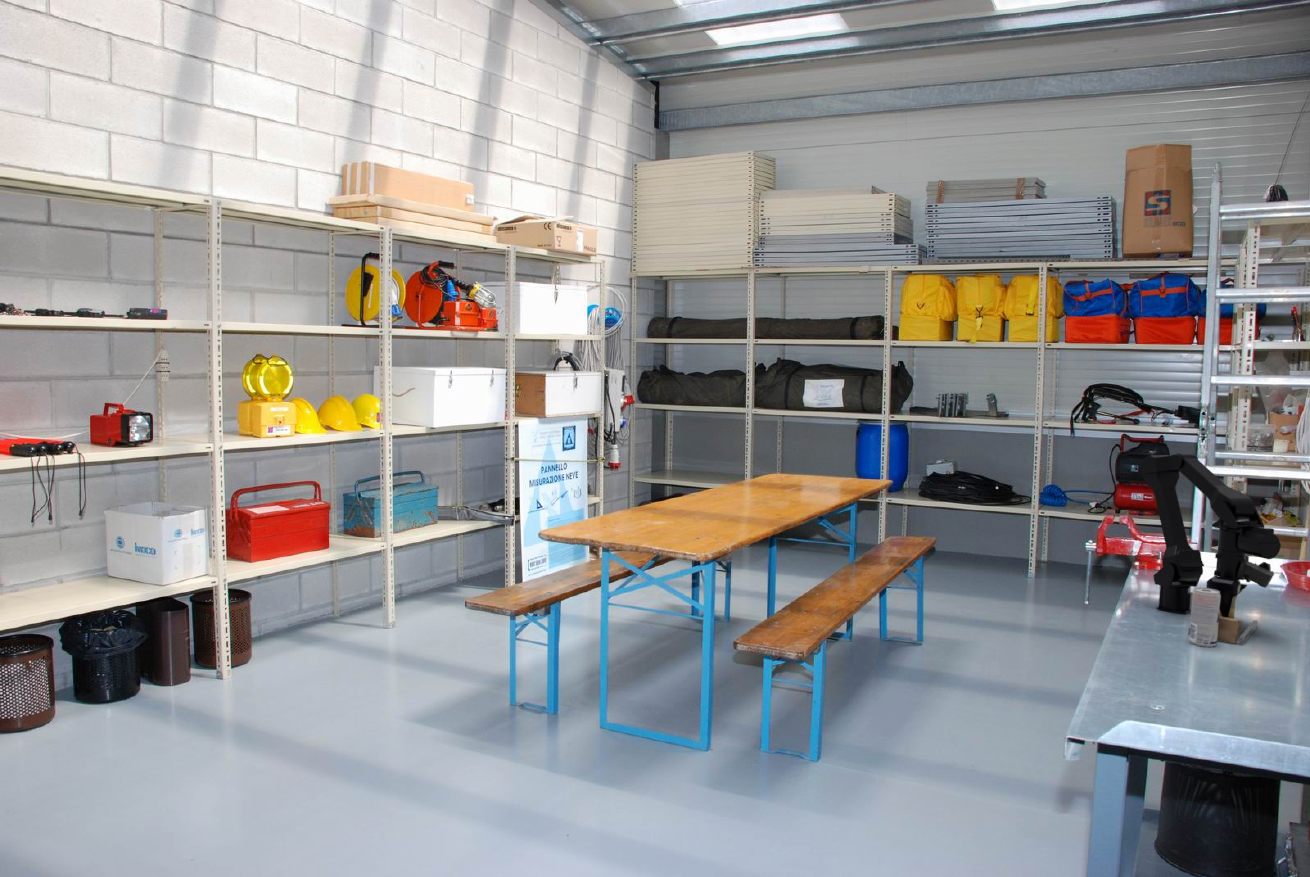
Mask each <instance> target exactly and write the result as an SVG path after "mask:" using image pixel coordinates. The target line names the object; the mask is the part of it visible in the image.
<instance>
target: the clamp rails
mask: <svg viewBox="0 0 1310 877" xmlns="http://www.w3.org/2000/svg"><path fill="white" fill-rule="evenodd" d="M1258 624H1259V622H1258V620H1255V619H1253V620H1252V622H1251V623H1250V624H1249V626H1247V628H1246V629H1244V632H1243V633H1242V634H1241V635H1240V636H1239V638H1238V645H1239V644H1240V646H1244V644H1245V643H1246V642H1247V641H1248V640H1249V638H1250V637H1251V636H1252V635H1253V633H1254V632H1255V631H1256V630H1257V629H1258ZM1254 630H1255V631H1254ZM1187 635H1188V636H1190V627H1189V628H1188V634H1187ZM1250 635H1251V636H1250ZM1248 637H1249V638H1248Z"/></svg>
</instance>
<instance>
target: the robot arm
mask: <svg viewBox="0 0 1310 877" xmlns="http://www.w3.org/2000/svg"><path fill="white" fill-rule="evenodd" d="M1139 469H1140V473H1141V474H1142V475H1141V476H1142V478H1143V480H1144V483H1145V484H1146V485H1147V486H1148V487H1149V488H1150V489H1151V490H1152V491H1153V493H1154V494H1153V496H1154V499H1155V504H1156V508H1157V513H1158V517H1159V522H1160V525H1161V530H1162V534H1163V538H1164V539H1163V540H1164V542H1165V550H1164V552H1163V555H1162V557H1161V561H1162V567H1161V568H1160V569H1159V570H1157V571H1156V572H1155V573H1154V574H1153V576H1152V577H1153V581H1154V584H1155V585H1158V586H1160V587H1159V598H1158V599H1159V600H1158V605H1157V607H1156V610H1159V611H1165V612H1171V613H1176V614H1182V615H1183V614H1184V615H1185V614H1187V613H1188V612H1190V610H1192V596H1193V592H1191V590H1192V587H1194V588H1198V587H1197V586H1198V584H1199V582H1200V579H1201V577H1202V575H1203V573H1204V568H1203V567H1205V564H1204V563H1203V560H1202V553H1201V551H1200V550H1199V549H1194V548H1192V547H1191V545H1190V544H1189V541H1188V537H1187V532H1186V529H1185V525H1184V524H1185V523H1184V520H1183V519H1184V518H1183V515H1182V511H1181V507H1180V503H1179V502H1180V501H1179V498H1178V497H1179V496H1178V494H1177V490H1176V489H1177V486H1178V482H1179V480H1180V473H1181V474H1182V475H1183V476H1184V477H1185V478H1186V479H1187V480H1188V481H1189V482H1191V484H1193V486H1194V487H1195V488H1197V489H1198V490H1199V491H1200V492H1201V493H1202V494H1203V495H1204V496H1205V497H1206V498H1207V499H1208V501H1209V504H1210V508H1211V510H1212V511H1213V513H1214V514H1215V515H1216V517H1217V518H1218V519H1217V521H1215V522H1213V523H1212V524H1211V527H1212V528H1216V529H1218V541H1217V552H1216V553H1215V556H1214V557H1215V559H1216V564H1215V565H1216V566H1215V567H1216V568H1215V570H1214V571H1213V576H1212V577H1211V578H1209V579H1208V580H1207V581H1206V587H1205V588H1210V589H1214V590H1218V591H1219V592H1220V595H1221V598H1220V611H1221V614H1222V616H1223V617H1228V616H1229V613H1230V609H1231V606H1232V602H1233V599H1234V597H1235V596H1236V599H1237V598H1238V595H1239V594H1241V593H1242V592H1243V590H1245V589H1246V588H1247V587H1248V585H1247V584H1244V583H1241V581H1244V580H1245V581H1246V583H1250V582H1253V583H1255V584H1257V585H1258V586H1259V587H1262V588H1264V589H1265V588H1267V587H1268V586H1269V584H1270V583H1271V581H1272V579H1273V577H1274V575H1275V572H1274V571H1273V570H1272V568H1271V567H1272V566H1271V564H1270V563H1268V562H1266V561H1262V562H1261V563H1260V564H1259V563H1253V562H1251V561H1250V556H1253V557H1258V558H1261V559H1265V560H1272V559H1275V558H1276V556H1278V554H1279V553H1280V550H1281V547H1282V543H1281V541H1280V539H1279V537H1278V536H1277V535H1276V534H1275V529H1274V528H1271V527H1265V524H1264V522H1263V520H1262V518H1261V516H1260V514H1259V512H1258V510H1257V508H1256V506H1255V505H1256V503H1255V502H1254V500H1253V498H1251V496H1248V495H1247V494H1244V493H1243V492H1241V491H1239V490H1237V489H1234V488H1231V487H1230V486H1228V485H1227V484H1225V483H1224V482H1223V481H1222V480H1221V479H1220V478H1218V476H1216V475H1215V474H1214V473H1213V472H1212V471H1211V470H1210V469H1209V468H1208V467H1206V466H1205V465H1204V464H1203V463H1202V462H1201V461H1200V460H1199V459H1198V457H1197V455H1195V454H1194V453H1189V452H1188V453H1175V454H1173V455H1172V454H1171V455H1169V454H1168V455H1166V454H1164V455H1146V456H1144V458H1143V459H1142V461H1141V462H1140V465H1139ZM1249 555H1250V556H1249ZM1240 580H1241V581H1240ZM1220 611H1219V612H1220Z"/></svg>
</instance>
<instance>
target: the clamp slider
mask: <svg viewBox="0 0 1310 877" xmlns="http://www.w3.org/2000/svg"><path fill="white" fill-rule="evenodd" d="M1236 601H1237V598H1236V596H1235V597H1234V599H1233V602H1232V606H1231V609H1230V613H1229V616H1228V617H1223V616H1222V614H1221V611H1219V624H1218V637H1217V641H1218V642H1219V641H1220V642H1224V643H1230V644H1236V643H1237V642H1238V634H1239V633H1240V632H1241V631H1242V630H1243V620H1240V619H1238V618H1235V611H1236Z"/></svg>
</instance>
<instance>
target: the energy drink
mask: <svg viewBox="0 0 1310 877" xmlns="http://www.w3.org/2000/svg"><path fill="white" fill-rule="evenodd" d="M1192 593H1193V596H1192V609H1191V612H1190V625H1189V628H1190V635H1189V638H1188V641H1189V642H1190V644H1193V645H1195V646H1199V647H1204V648H1214V647H1217V645H1218V640H1217V637H1218V624H1219V613H1220V598H1221V595H1220V592H1219V591H1218V590H1214V589H1210V588H1206V587H1194V590H1193V592H1192ZM1213 646H1214V647H1213Z"/></svg>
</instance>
